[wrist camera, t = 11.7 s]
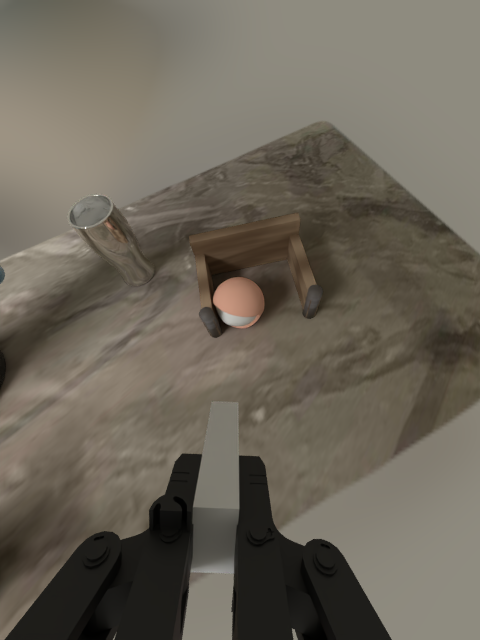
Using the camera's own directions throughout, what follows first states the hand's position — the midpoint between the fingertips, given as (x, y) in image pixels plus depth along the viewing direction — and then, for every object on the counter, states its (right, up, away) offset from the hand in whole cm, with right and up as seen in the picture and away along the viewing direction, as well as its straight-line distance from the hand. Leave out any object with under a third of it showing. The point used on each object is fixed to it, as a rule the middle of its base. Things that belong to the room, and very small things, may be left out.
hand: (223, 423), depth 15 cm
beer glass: (-18, +15, +35) cm, 42 cm away
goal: (+4, +11, +30) cm, 32 cm away
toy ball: (+1, +7, +29) cm, 30 cm away
